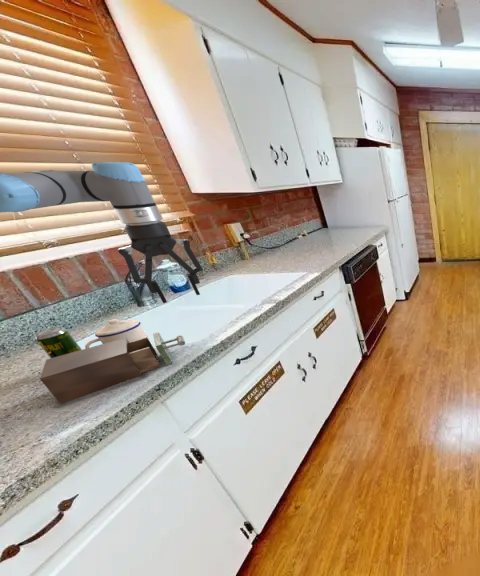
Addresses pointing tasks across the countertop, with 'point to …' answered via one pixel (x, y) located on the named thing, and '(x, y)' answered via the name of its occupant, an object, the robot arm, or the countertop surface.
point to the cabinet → (89, 370)
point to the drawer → (151, 352)
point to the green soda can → (57, 342)
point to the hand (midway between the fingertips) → (181, 297)
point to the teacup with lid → (119, 332)
